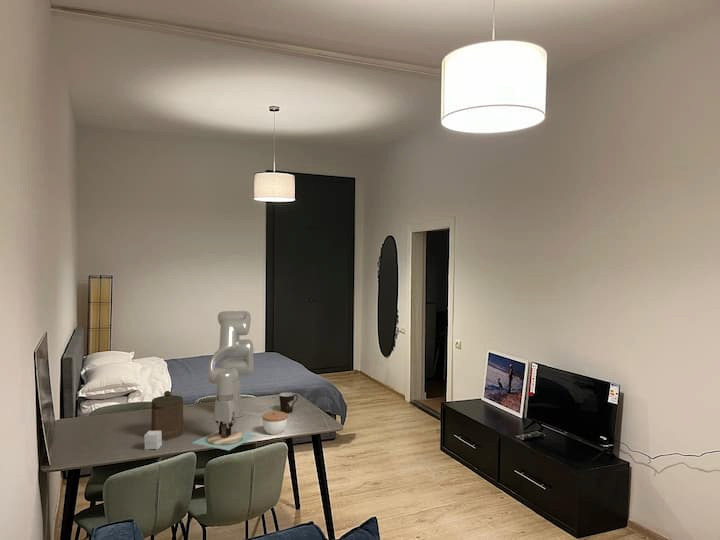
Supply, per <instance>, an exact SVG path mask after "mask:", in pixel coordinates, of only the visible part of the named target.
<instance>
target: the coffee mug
mask: <svg viewBox="0 0 720 540" xmlns="http://www.w3.org/2000/svg"><path fill="white" fill-rule="evenodd" d="M278 395H279V396H278V397H279V404H280V412H284V413H286V414H292V413H293V411H294V404H295V403H296V402H297V401H298V395H297V394H295V393H294V392H289V391H287V392H282V393H279V394H278ZM295 396H296V399H295ZM294 400H295V401H294Z"/></svg>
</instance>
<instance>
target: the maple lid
mask: <svg viewBox="0 0 720 540" xmlns="http://www.w3.org/2000/svg"><path fill="white" fill-rule="evenodd" d="M226 428H227V424H226V422H224V423H223V424H221V435H219V432H217V431H215V432H216V433H214V432H213V434H212V433H210V434H209V436H208V435H207V436H208V437H207V442H208V443H209V444H212V445H231V444H235V443H238V442H240V441H241V440H242V439H243V434H242V433H243V432H241V433H240V431H236V430H231V435H229V436H226Z"/></svg>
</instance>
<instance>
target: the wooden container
mask: <svg viewBox="0 0 720 540" xmlns="http://www.w3.org/2000/svg"><path fill="white" fill-rule="evenodd" d="M183 404H184V397H183V396H181V395H177V394H176V395H175V394H174V395H172V391H170V390H166V391H164V393H163V395H161V396H160V395H159V396H157V397H154V398H153V399H152V400H151V431H162V441H167V440H166V439H170V440H172V439H177V438H179V437H181V436H183V435H184V405H183Z"/></svg>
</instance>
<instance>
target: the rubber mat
mask: <svg viewBox="0 0 720 540" xmlns="http://www.w3.org/2000/svg"><path fill="white" fill-rule="evenodd" d="M216 432H219V430H216V431H215V432H213V433H216ZM239 432H240V431H239ZM213 433H211V434H213ZM240 433H242V434H243V439H242V440H241V441H240V442H238V443H235V444H231V445H212V444H209V443H208V442H207V437H208V436H209V435H210V434H209V435H206V436H203V437H202V438H201V437H200V438H199V439H197V440H195V441H192V442H191V444H195V445H199V446H205V447H210V448H215V449H220V450H225V451H231V450H233V449H235V448H236V447H238V446H241V445H243V444H244V443H247V442H248V441H250V440H252V439H254V438H256V437H257V436H258V435H257V434H251V433H244V432H240Z"/></svg>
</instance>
